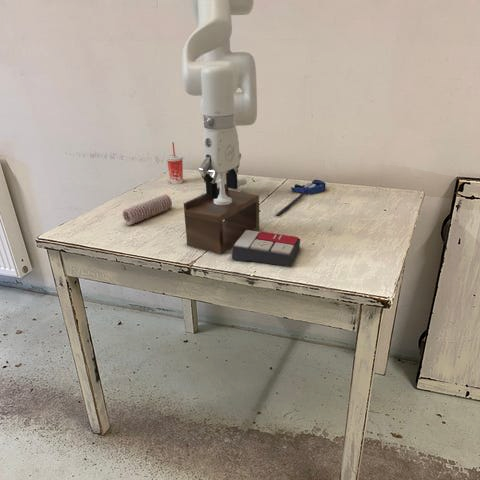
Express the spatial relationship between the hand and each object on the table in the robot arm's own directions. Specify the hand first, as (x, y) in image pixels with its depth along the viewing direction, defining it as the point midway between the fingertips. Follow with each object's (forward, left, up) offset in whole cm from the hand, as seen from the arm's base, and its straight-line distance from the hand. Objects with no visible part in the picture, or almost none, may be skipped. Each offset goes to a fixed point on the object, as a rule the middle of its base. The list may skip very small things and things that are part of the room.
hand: (222, 192), depth 126 cm
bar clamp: (-37, -7, -13) cm, 40 cm away
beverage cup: (-21, -52, -13) cm, 58 cm away
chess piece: (0, 0, -3) cm, 3 cm away
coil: (+6, -29, -13) cm, 32 cm away
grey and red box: (0, +16, -13) cm, 21 cm away
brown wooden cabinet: (0, 0, -12) cm, 12 cm away
